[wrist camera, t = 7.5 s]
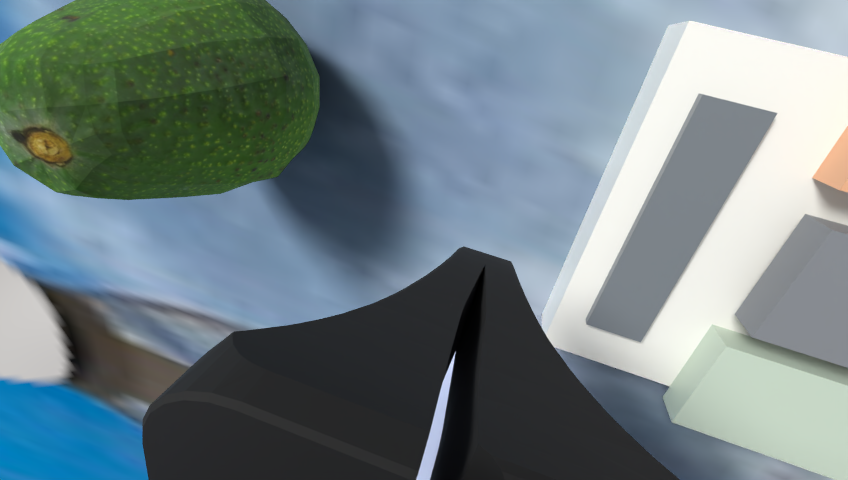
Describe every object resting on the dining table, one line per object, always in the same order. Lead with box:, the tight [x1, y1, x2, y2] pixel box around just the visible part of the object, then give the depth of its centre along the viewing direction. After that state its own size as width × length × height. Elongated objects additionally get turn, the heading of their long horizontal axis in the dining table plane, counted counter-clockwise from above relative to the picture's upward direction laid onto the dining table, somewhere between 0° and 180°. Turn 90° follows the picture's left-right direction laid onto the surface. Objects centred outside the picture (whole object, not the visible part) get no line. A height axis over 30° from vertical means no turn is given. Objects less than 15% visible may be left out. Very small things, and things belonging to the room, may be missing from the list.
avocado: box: [0, 0, 320, 200], centre depth 15 cm, size 8×8×12 cm
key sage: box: [663, 324, 848, 480], centre depth 17 cm, size 4×8×2 cm, turn 77°
